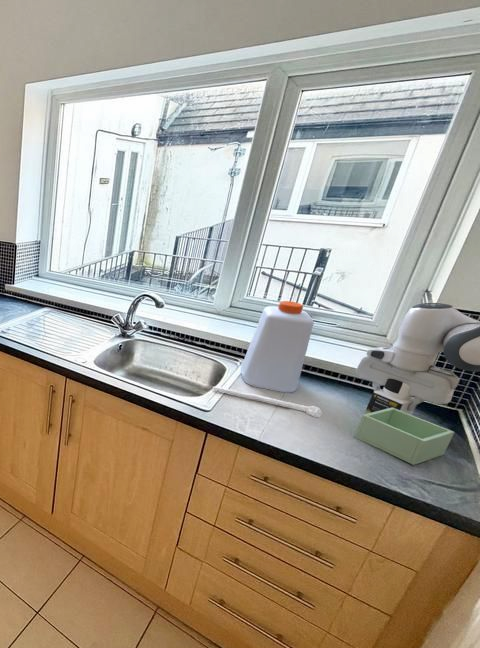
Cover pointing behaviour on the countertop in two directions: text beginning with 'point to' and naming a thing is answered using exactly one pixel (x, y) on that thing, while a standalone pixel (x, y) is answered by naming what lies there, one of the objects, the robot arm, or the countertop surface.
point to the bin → (403, 435)
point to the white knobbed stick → (273, 401)
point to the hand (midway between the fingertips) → (392, 403)
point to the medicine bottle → (391, 397)
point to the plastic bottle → (278, 348)
